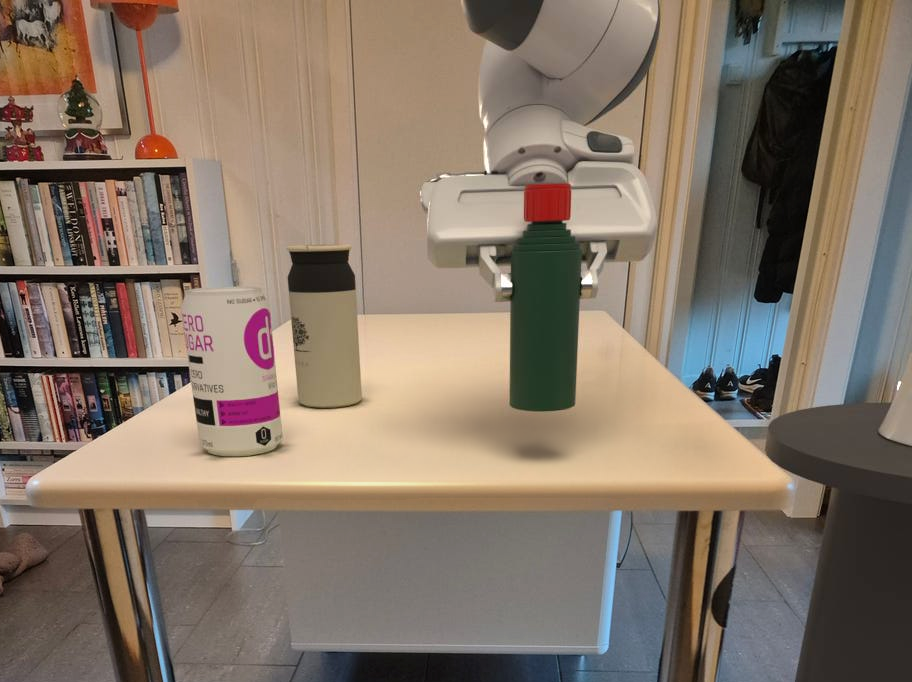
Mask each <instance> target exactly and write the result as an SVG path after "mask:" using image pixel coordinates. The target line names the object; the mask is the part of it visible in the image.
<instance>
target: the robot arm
mask: <svg viewBox="0 0 912 682" xmlns="http://www.w3.org/2000/svg"><path fill="white" fill-rule="evenodd" d="M460 3H461V4H460V5H461V9H462V12H463V15H464V18H465V21H466V23H467V26H468V29H469V30H470V31H471V32H472V33H474V34H475V35H477V36H479V37H481V38H483V39H485V43H484V45H483V50H482V53H481V57H480V63H479V70H478V84H477V86H478V87H477V95H478V97H477V101H478V113H479V122H480V127H481V130H482V132H483V135H484V136H483V140H482V141H483V142H482V160H483V169H484V170H483V171H465V172H461V173H451V172H441V173H437V174H436V176H435V177H434V178H431V179H428V180H427V181H425V182H423V184H422V186H421V188H420V205H421V208H422V210H423V211H424V213H426V215H427V229H426V231H427V232H426V234H427V235H426V246H427V248H426V249H427V252H426V253H427V260H428V261H429V262H430V263H431V264H432V265H433V266H434V267H435V268H436V269H466V268H467V269H468V268H478V272H479V273H478V274H479V275H480V276H481V278H482V279H483V280H484V281H485V282H486V283H487V285H489V287H490V288H491V289H492V290H493V301H494V303H504V302H510V301H511V299H512V297H511V296H512V293H513V285H512V282H511V281H512V277H511V272H503V271H502V270H501V269H500V268H499V267H511V251H513V244H518V238H519V237H522V235H523V231H527V224H531V222H525V221H524V192H525V185H536V184H565V183H567V184H571V216H570V220H566V221H563V222H562V223H567V228H566V229H570V230H571V236H575V242H580V249H582V259H581V264H586V269H581V282H580V300H591V299H596V298H597V295H598V292H599V278H600V275H601V273H602V272H603V269H604V266H605V264H607V263H608V264H609V263H629V262H630V263H633V262H636V263H637V262H642V261H643V260H645V258H646V257H647V256H648V255H649V253H650V252H651V250H652V248H653V245H654V243H655V240H656V236H657V233H658V217H657V211H656V207H655V202H654V198H653V195H652V192H651V190H650V186H649V183H648V180H647V179H646V176H645V175H644V173H643V171H641V170H640V169H639V168H638V167H637V166H635V165H634V157H635V145H634V142H633V140H632V139H630V138H629V137H627V136H624V135H619V134H613V133H609V132H605V131H601V130H598V129H593V128H592V127H588V125H591V124H593V123H594V122H596V121H597V120H599V119H600V118H602V117H603V116H605V115H606V114H608V113H609V112H610V111H612V110H614V109H615V108H616V107H618V106H620V104H622V103H623V102H624V101H625V100H626V99H628V98H629V96H631V94H633V92H634V91H636V89H637V88H638V87H639V86H640V84H641V83H642V81H644V79H645V77H646V76H647V74H648V71H649V70H650V68H651V65H652V62H653V59H654V56H655V53H656V49H657V45H658V40H659V37H660V29H661V6H660V5H661V4H660V0H460ZM891 403H892V404H891V407H890V409H889V411H888V413H887V415H886V417H885V419H884V420H883V422H882V424H881V426H880V427H879V429H878V432H879V434H881V435H882V436H884V437H885V438H887V439H890V440H892V441H895V442H898V443H902V444H905V445H909V446H912V350H910V354H909V358H908V360H907V363H906V366H905V369H904V371H903V375H902V377H901V380H900V381H898V384H897V389H896V393H895V396H894V398H893V400H892V402H891Z"/></svg>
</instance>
